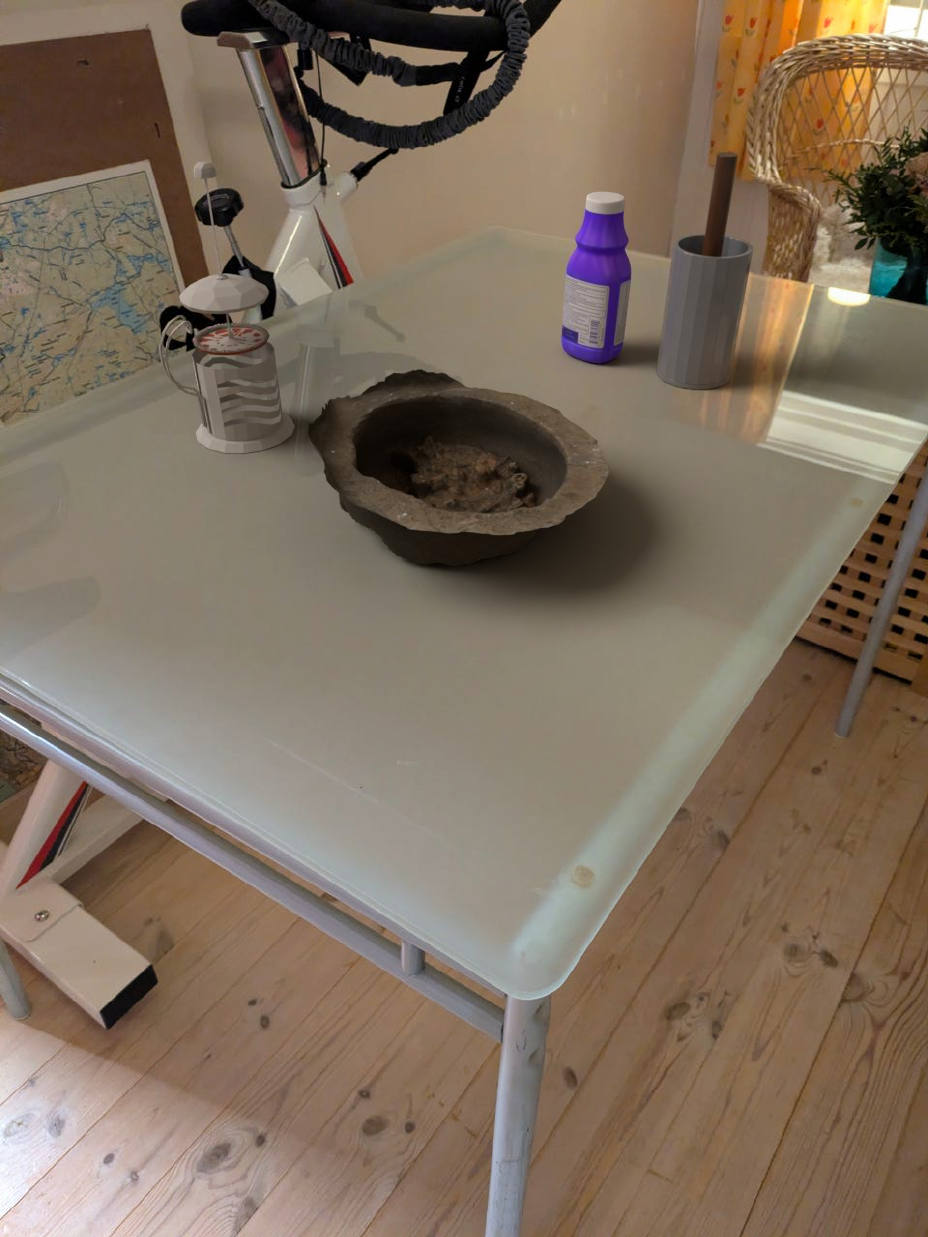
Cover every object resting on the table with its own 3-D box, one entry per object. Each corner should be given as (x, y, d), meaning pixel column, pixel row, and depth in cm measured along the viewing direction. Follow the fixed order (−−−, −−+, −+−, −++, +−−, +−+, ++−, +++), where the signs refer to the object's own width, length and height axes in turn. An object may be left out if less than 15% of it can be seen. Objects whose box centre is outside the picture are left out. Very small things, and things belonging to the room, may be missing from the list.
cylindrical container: (703, 355, 110) (724, 230, 101) (743, 382, 104) (769, 252, 96) (643, 365, 108) (659, 238, 99) (680, 394, 102) (701, 261, 93)
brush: (699, 358, 108) (733, 147, 94) (721, 373, 105) (760, 157, 91) (665, 364, 107) (695, 151, 93) (687, 380, 103) (721, 161, 90)
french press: (310, 437, 94) (280, 166, 79) (196, 467, 90) (140, 185, 74) (272, 400, 101) (238, 142, 85) (165, 426, 96) (107, 158, 81)
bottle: (631, 355, 110) (649, 196, 99) (602, 370, 107) (617, 207, 96) (581, 339, 114) (593, 184, 103) (551, 353, 111) (560, 194, 100)
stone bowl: (275, 479, 87) (270, 383, 82) (517, 445, 96) (526, 356, 91) (367, 631, 69) (367, 521, 64) (652, 571, 79) (674, 470, 73)
